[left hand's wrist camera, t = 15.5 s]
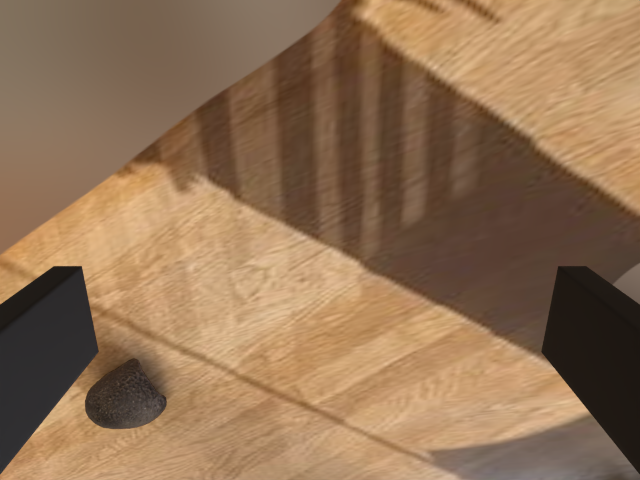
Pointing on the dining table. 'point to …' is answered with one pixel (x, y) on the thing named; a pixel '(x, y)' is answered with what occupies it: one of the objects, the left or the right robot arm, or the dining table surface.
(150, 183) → the dining table surface
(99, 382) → the stone
